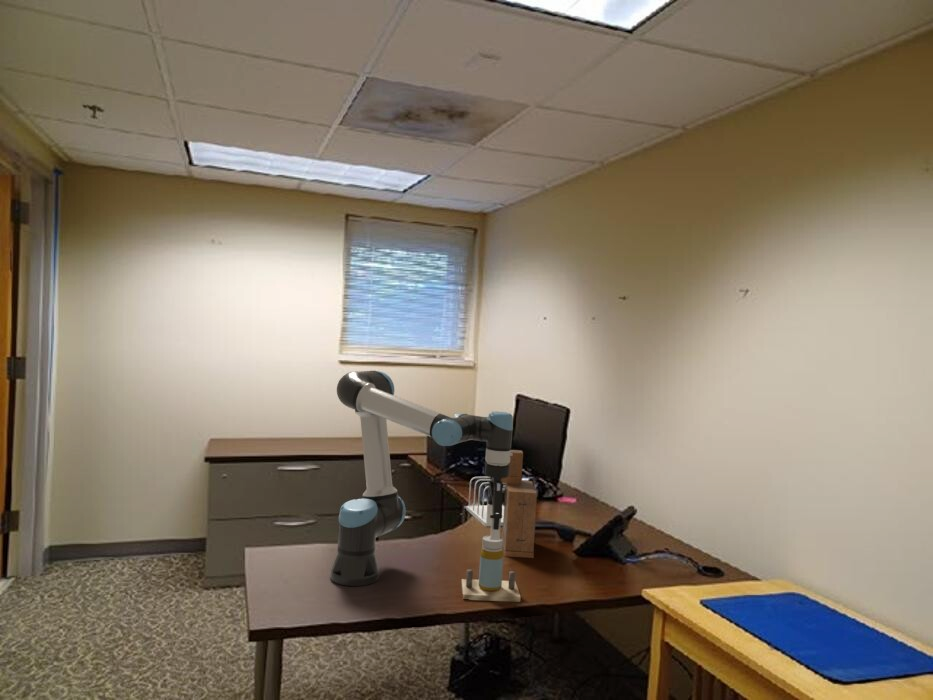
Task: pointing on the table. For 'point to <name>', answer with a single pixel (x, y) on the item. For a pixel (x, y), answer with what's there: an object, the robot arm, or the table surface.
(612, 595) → the table surface
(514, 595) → the peg stand
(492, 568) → the bottle
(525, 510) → the tan tall stacked block
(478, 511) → the file sorter
